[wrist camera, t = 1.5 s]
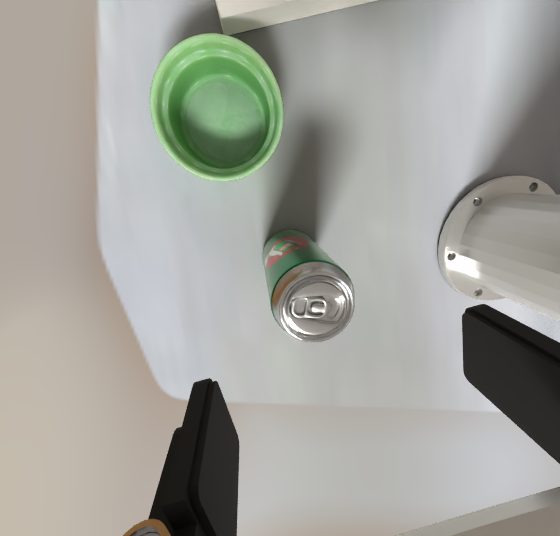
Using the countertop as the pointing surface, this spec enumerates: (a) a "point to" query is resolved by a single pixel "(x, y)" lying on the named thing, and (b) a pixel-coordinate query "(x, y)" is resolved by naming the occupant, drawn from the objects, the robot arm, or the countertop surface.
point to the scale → (272, 12)
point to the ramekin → (216, 107)
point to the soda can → (306, 287)
